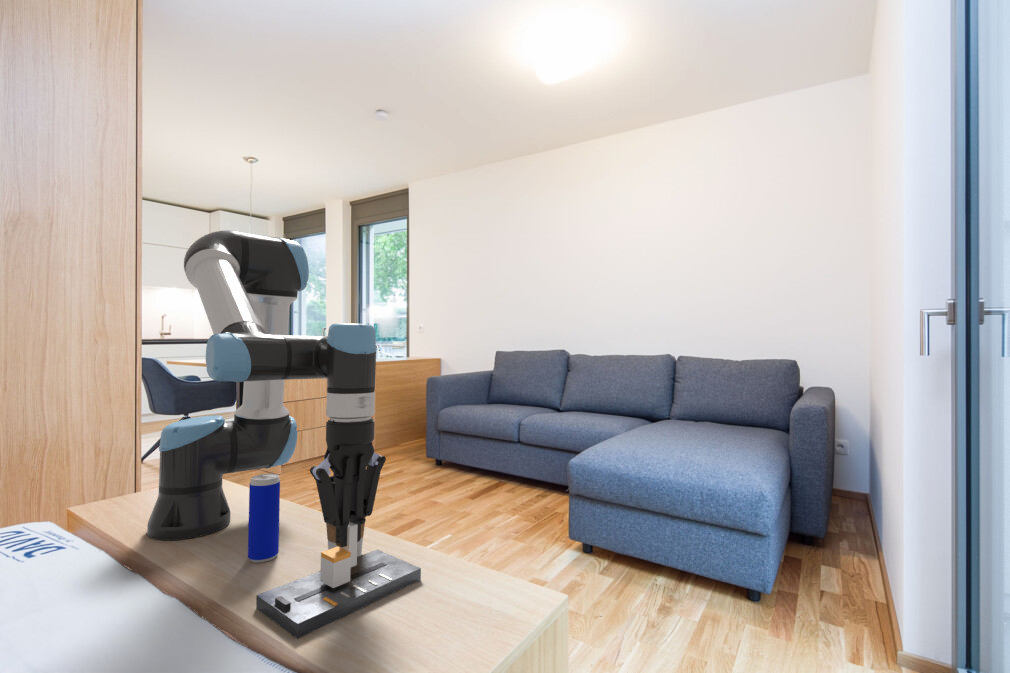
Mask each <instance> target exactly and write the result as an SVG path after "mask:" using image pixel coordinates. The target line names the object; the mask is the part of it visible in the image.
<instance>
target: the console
mask: <svg viewBox="0 0 1010 673" xmlns="http://www.w3.org/2000/svg"><path fill="white" fill-rule="evenodd" d="M421 575H422V568H421V567H419V566H417V565H415V564H412V563H410V562H407V561H406V560H403V559H401V558H398V557H396V556H393V555H391V554H389V553H387V552H384V551H382V550H380V549H374V550H372V551H369V552H367V553H364V554H361V556H358V557H357V565H356V566H353V567H351V569H350V581H349V582H347V583H344V584H342V585H340V586H337V587H335V588H332V587H330V586H328V585H327V584H325V583H323V582H321V581H320V579H321V570H318V571H316V572H314V573H310V574H308V575H306V576H303V577H300V578H298V579H296V580H292V581H290V582H286V583H285V584H282V585H279V586H277V587H273V588H272V589H269V590H266V591H263V592H261V593H258V594H256V599H255V600H256V601H255V603H256V604H255V609H256V610H257V611H259V612H261V613H262V614H263V615H265V617H266V618H268V619H270V620H271V621H272V622H274V623H275V624H276V625H277V626H279V627H281V628H282V629H283V630H285V631H286V632H287V633H289V634H290V635H291V636H293V637H294V638H295V639H297V640H298V639H300V638H302V637H304V636H307V635H308V634H311V633H312V632H315V631H317V630H319V629H321V628H323V627H325V626H327V625H329V624H332V623H333V622H335V621H338V620H339V619H342V618H344V617H346V616H348V615H350V614H352V613H354V612H356V611H359V610H360V609H362V608H364V607H367V606H369V605H371V604H374V603H375V602H377V601H379V600H382V599H383V598H386V597H388V596H390V595H393V594H394V593H396V592H399V591H400V590H401V591H402V590H403V589H405V588H406V587H409V586H411V585H413V584H415V583H418V582H420V581H421V579H422V578H421V577H422V576H421Z"/></svg>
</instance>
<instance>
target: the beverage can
mask: <svg viewBox="0 0 1010 673" xmlns="http://www.w3.org/2000/svg"><path fill="white" fill-rule="evenodd" d="M248 490H249V491H248V528H247V530H248V533H247V534H248V535H247V558H248V560H249V561H250V562H251V563H257V564H258V563H259V564H260V563H261V564H262V563H266V562H269V561H272V560H274V559H275V558H276V557H277V555H278V554H279V548H280V546H279V545H280V543H279V542H280V510H281V507H280V504H281V502H280V500H281V478H280V476H279V474H276V473H263V474H257V475H254V476H252V477H251V479H250V480H249V489H248Z"/></svg>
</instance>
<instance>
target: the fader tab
mask: <svg viewBox="0 0 1010 673" xmlns="http://www.w3.org/2000/svg"><path fill="white" fill-rule="evenodd" d="M350 569H351V552H349V551H347V550H345V549H342V548H340V547H335V548H332V549H329V550H328V549H327V550H323V551H321V552H320V571H321V579H320V581H321V582H323V583H325V584H327V585H328V586H330V587H332V588H335V587H337V586H340V585H342V584H344V583H347V582H349V581H350Z"/></svg>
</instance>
